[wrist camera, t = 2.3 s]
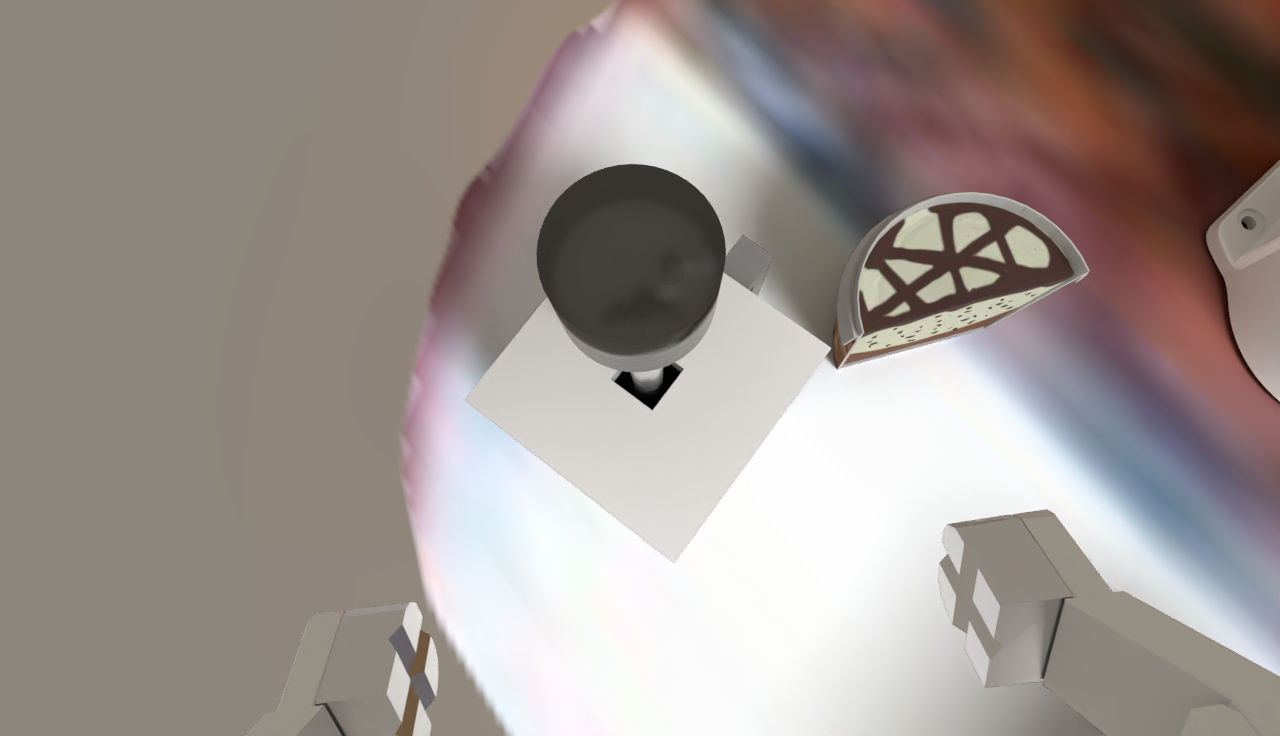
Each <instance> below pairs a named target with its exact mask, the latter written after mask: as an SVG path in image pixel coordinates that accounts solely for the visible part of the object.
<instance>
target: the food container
mask: <svg viewBox="0 0 1280 736" xmlns="http://www.w3.org/2000/svg"><path fill="white" fill-rule="evenodd" d="M1088 272H1089V269H1088V267H1087V265H1086V263H1085V261H1084V259H1083V257H1082V255H1081V254H1080V252H1079V251H1078V250H1077V248H1076V247H1075V245H1074V244H1073V242H1072V241H1071V240H1070V239H1069V238H1068V237H1067V236H1066V235H1065V234H1064V233H1063V232H1062V230H1061V229H1060V228H1059V227H1058V226H1056V225H1055V224H1054V223H1052V222H1051V221H1050V220H1049V219H1047V218H1046V217H1045V216H1044V215H1042V214H1040V213H1039V212H1037V211H1035V210H1033V209H1032V208H1030V207H1028V206H1026V205H1024V204H1021V203H1019V202H1016V201H1014V200H1011V199H1009V198H1005V197H1001V196H997V195H993V194H984V193H975V192H965V193H947V194H942V195H936V196H931V197H928V198H925V199H922V200H920V201H917V202H914V203H912V204H910V205H908V206H906V207H905V208H903V209H901V210H899V211H897V212H895V213H893V214H892V215H890V216H888V217H886V218H885V219H884V220H882V221H881V222H880V223H879V224H877V225H876V226H875V227H873V228H872V229H871V230H870V231H869V232H868V233H867V235H866V236H865V237H864V238H863V239H862V240H861V241H860V242H859V244H858V245H857V247H856V248H855V250H854V251H853V253H852V254H851V256H850V258H849V260H848V262H847V265H846V267H845V269H844V271H843V274H842V278H841V282H840V286H839V290H838V300H837V319H836V323H835V327H834V331H833V353H834V359H835V363H836V367H837V369H840V368H844V367H848V366H851V365H855V364H859V363H862V362H866V361H870V360H873V359H877V358H881V357H884V356H888V355H892V354H895V353H899V352H903V351H906V350H910V349H914V348H917V347H921V346H925V345H928V344H932V343H936V342H939V341H943V340H947V339H950V338H954V337H958V336H961V335H965V334H969V333H972V332H976V331H980V330H983V329H987V328H989V327H990V326H992V325H994V324H996V323H998V322H999V321H1001V320H1003V319H1005V318H1007V317H1009V316H1010V315H1012V314H1014V313H1016V312H1018V311H1019V310H1021V309H1023V308H1025V307H1027V306H1028V305H1030V304H1032V303H1034V302H1036V301H1038V300H1039V299H1041V298H1043V297H1045V296H1047V295H1048V294H1050V293H1052V292H1054V291H1056V290H1058V289H1059V288H1061V287H1063V286H1065V285H1067V284H1068V283H1070V282H1072V281H1075V282H1078V281H1080V280H1081V279H1082V278H1084V277H1085V276H1086V275H1087V274H1088Z"/></svg>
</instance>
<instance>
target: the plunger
mask: <svg viewBox="0 0 1280 736" xmlns="http://www.w3.org/2000/svg"><path fill="white" fill-rule="evenodd" d="M725 256H726V248H725V238H724V234H723V230H722V226H721V224H720V221H719V219H718V216H717V214H716V213H715V211H714V209H713V207H712V206H711V204H710V203H709V202H708V200H707V199H706V198H705V196H704V195H703V194H702V193H701V192H700V191H699V190H698V189H697V188H696V187H694V186H693V185H692V184H691V183H689V182H688V181H687V180H685V179H683V178H682V177H680V176H678V175H676V174H674V173H672V172H669V171H667V170H664V169H661V168H658V167H654V166H648V165H638V164H627V165H617V166H612V167H607V168H604V169H601V170H598V171H595V172H593V173H591V174H589V175H587V176H585V177H583V178H582V179H580V180H578V181H577V182H575V183H574V184H573V185H571V186H570V187H569V188H568V189H567V190H565V191H564V193H563V194H562V195H561V196H560V197H559V198H558V199H557V200H556V202H555V203H554V204H553V206H552V207H551V209H550V210H549V212H548V214H547V216H546V218H545V220H544V222H543V225H542V228H541V230H540V234H539V239H538V245H537V267H538V272H539V277H540V280H541V283H542V286H543V289H544V291H545V293H546V295H547V297H548V299H549V301H550V303H551V305H552V306H553V308H554V310H555V312H556V314H557V316H558V318H559V320H560V322H561V324H562V326H563V327H564V329H565V331H566V333H567V335H568V336H569V338H570V339H571V341H572V342H573V343H574V344H575V345H576V346H577V348H578V349H579V350H580V351H582V352H583V353H584V354H585V355H586V356H587V357H589V358H591V359H592V360H594V361H595V362H597V363H599V364H601V365H603V366H606V367H609V368H612V369H615V370H620V371H625V372H631V376H632V380H633V384H634V388H635V392H636V396H637V399H638V400H639V401H640V402H642V403H643V404H644V405H646V406H647V407H648V408H650V409H651V410H652V411H653V409H654V408H655V407H656V405H657V404H658V403H659V401H660V400H661V399H662V397H663V396H664V387H663V367H666V366H669V365H671V364H673V363H675V362H677V361H678V360H680V359H681V358H683V357H684V356H686V355H687V354H688V353H689V352H691V351H692V350H693V349H694V348H695V347H696V346H697V345H698V343H699V342H700V341H701V340H702V338H703V337H704V335H705V334H706V332H707V331H708V328H709V326H710V324H711V322H712V319H713V316H714V313H715V309H716V304H717V300H718V295H719V290H720V286H721V281H722V277H723V272H724V266H725Z"/></svg>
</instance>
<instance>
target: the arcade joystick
mask: <svg viewBox="0 0 1280 736" xmlns="http://www.w3.org/2000/svg"><path fill="white" fill-rule="evenodd" d="M772 258H773V255H771V254H770V253H768V252H767V251H765V250H764V249H762V248H761V247H759V246H758V245H757V244H755V243H754V242H752V241H751V240H749V239H748V238H746V237H745V236H742V237H741V238H740V239H739V241H738V242H737V243H736V245H734V247H733V248H732V249H731V251H730V252H729V253H728V254H727V256H726V257H725V266H724V272H723V277H722V281H721V286H720V290H719V295H718V300H717V304H716V309H715V313H714V316H713V319H712V322H711V324H710V326H709V328H708V331H707V332H706V334H705V335H704V337H703V338H702V340H701V341H700V342H699V343H698V345H697V346H696V347H695V348H694V349H693V350H692V351H691V352H689V353H688V354H687V355H686V356H684V357H683V358H681V359H680V360H678V361H677V362H675V363H673V364H671V365H669V366H666V367H663V387H664V396H663V397H662V399H661V400H660V401H659V403H658V404H657V405H656V407H655V408H654V409H653V411H652V410H651V409H650V408H648V407H647V406H646V405H644V404H643V403H642V402H640V401H639V400H638V399H637V396H636V392H635V388H634V384H633V380H632V376H631V372H625V371H620V370H615V369H612V368H609V367H606V366H603V365H601V364H599V363H597V362H595V361H594V360H592V359H591V358H589V357H587V356H586V355H585V354H584V353H583V352H582V351H580V350H579V349H578V348H577V346H576V345H575V344H574V343H573V342H572V341H571V339H570V338H569V336H568V335H567V333H566V331H565V329H564V327H563V326H562V324H561V322H560V320H559V318H558V316H557V314H556V312H555V310H554V308H553V306H552V305H551V303H550V301H549V299H548V297H546V298H545V299H544V301H543V302H542V303H541V304H540V306H539V307H538V308H537V309H536V311H535V312H534V313H533V314H532V316H531V317H530V318H529V319H528V321H527V322H526V323H525V324H524V326H523V327H522V328H521V329H520V331H519V332H518V333H517V334H516V336H515V337H514V338H513V339H512V341H511V342H510V343H509V344H508V346H507V347H506V348H505V349H504V351H503V352H502V353H501V354H500V355H499V357H498V358H497V359H496V360H495V362H494V363H493V364H492V365H491V367H490V368H489V369H488V370H487V372H486V373H485V374H484V375H483V377H482V378H481V379H480V380H479V382H478V383H477V384H476V385H475V387H474V388H473V389H472V390H471V392H470V393H469V394H468V395H467V397H466V398H465V399H464V401H466V402H467V403H468V404H469V405H471V406H472V407H473V408H475V409H476V410H477V411H478V412H480V413H481V414H482V415H484V416H485V417H486V418H487V419H489V420H490V421H491V422H493V423H494V424H495V425H496V426H498V427H499V428H500V429H502V430H503V431H504V432H505V433H507V434H508V435H509V436H511V437H512V438H513V439H514V440H516V441H517V442H518V443H520V444H521V445H522V446H523V447H525V448H526V449H527V450H529V451H530V452H531V453H532V454H534V455H535V456H536V457H538V458H539V459H540V460H541V461H543V462H544V463H545V464H547V465H548V466H549V467H550V468H552V469H553V470H554V471H556V472H557V473H558V474H559V475H561V476H562V477H563V478H565V479H566V480H567V481H568V482H570V483H571V484H572V485H574V486H575V487H576V488H577V489H579V490H580V491H581V492H583V493H584V494H585V495H586V496H588V497H589V498H590V499H592V500H593V501H594V502H595V503H597V504H598V505H599V506H601V507H602V508H603V509H604V510H606V511H607V512H608V513H610V514H611V515H612V516H613V517H615V518H616V519H617V520H619V521H620V522H621V523H623V524H624V525H625V526H626V527H628V528H629V529H630V530H632V531H633V532H634V533H635V534H637V535H638V536H639V537H641V538H642V539H643V540H644V541H646V542H647V543H648V544H650V545H651V546H652V547H653V548H655V549H656V550H657V551H659V552H660V553H661V554H662V555H664V556H665V557H666V558H668V559H669V560H670V561H671V562H673V563H675V562H676V560H677V559H678V558H679V556H680V555H681V554H682V552H683V551H684V550H685V548H686V547H687V545H688V544H689V543H690V541H691V540H692V539H693V537H694V536H695V534H696V533H697V532H698V530H699V529H700V528H701V526H702V525H703V523H704V522H705V521H706V519H707V518H708V517H709V515H710V514H711V513H712V511H713V510H714V508H715V507H716V506H717V504H718V503H719V502H720V500H721V499H722V497H723V496H724V495H725V493H726V492H727V491H728V489H729V488H730V487H731V485H732V484H733V482H734V481H735V480H736V478H737V477H738V476H739V474H740V473H741V471H742V470H743V469H744V467H745V466H746V465H747V463H748V462H749V460H750V459H751V458H752V456H753V455H754V454H755V452H756V451H757V450H758V448H759V447H760V445H761V444H762V443H763V441H764V440H765V439H766V437H767V436H768V434H769V433H770V432H771V430H772V429H773V428H774V426H775V425H776V424H777V422H778V421H779V419H780V418H781V417H782V415H783V414H784V413H785V411H786V410H787V408H788V407H789V406H790V404H791V403H792V402H793V400H794V399H795V397H796V396H797V395H798V393H799V392H800V391H801V389H802V388H803V387H804V385H805V384H806V382H807V381H808V380H809V378H810V377H811V376H812V374H813V373H814V371H815V370H816V369H817V367H818V366H819V365H820V363H821V362H822V361H823V359H824V358H825V356H826V355H827V354H828V352H829V351H830V350H831V347H829V346H828V345H826V344H825V343H824V342H822V341H821V340H819V339H818V338H816V337H815V336H814V335H812V334H811V333H809V332H808V331H807V330H805V329H804V328H802V327H801V326H799V325H798V324H797V323H795V322H794V321H792V320H791V319H789V318H788V317H787V316H785V315H784V314H782V313H781V312H779V311H778V310H777V309H775V308H774V307H772V306H771V305H769V304H768V303H767V302H765V301H764V300H762V299H761V298H759V297H758V294H759V291H760V289H761V286H762V283H763V281H764V278H765V276H766V273H767V271H768V268H769V265H770V263H771V260H772Z"/></svg>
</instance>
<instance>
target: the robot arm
mask: <svg viewBox="0 0 1280 736" xmlns="http://www.w3.org/2000/svg"><path fill="white" fill-rule="evenodd" d="M1241 221H1242V222H1244V223H1245V224H1246V225H1247V228H1248V229H1245V228H1244V227H1243V226H1242V223H1241ZM1206 241H1207V245H1208V248H1209V251H1210V253H1211V255H1212V257H1213V259H1214V261H1215V263H1216V265H1217V267H1218V268H1219V270H1220V272H1221V274H1222V275H1223V277H1224V280H1225V283H1226V288H1227V295H1228V306H1229V315H1230V321H1231V325H1232V330H1233V333H1234V336H1235V339H1236V342H1237V344H1238V347H1239V349H1240V351H1241V353H1242V355H1243V357H1244V359H1245V361H1246V362H1247V364H1248V366H1249V367H1250V369H1251V370H1252V372H1253V373H1254V375H1255V376H1256V377H1257V378H1258V380H1259V381H1260V382H1261V383H1262V385H1263V386H1264V387H1265V388H1266V389H1267V390H1268V391H1269V392H1270V393H1271V394H1272V395H1273V396H1274V397H1275V398H1276V399H1277V400H1279V401H1280V160H1279V161H1278V162H1277V163H1276V164H1275V165H1274V166H1273V167H1272V168H1270V169H1269V170H1268V171H1267V172H1266V173H1265V174H1264V175H1263V176H1262V177H1261V178H1260V179H1259V180H1258V181H1257V182H1256V183H1255V184H1254V185H1253V186H1252V187H1251V188H1249V189H1248V190H1247V191H1246V192H1245V193H1244V194H1243V195H1242V196H1241V197H1240V198H1239V199H1238V200H1237V201H1236V202H1235V203H1234V204H1233V205H1232V206H1231V207H1230V208H1229V209H1227V210H1226V211H1225V212H1224V213H1223V214H1222V215H1221V216H1220V217H1219V218H1218V219H1217V220H1216V221H1215V222H1214V223H1213V224H1212V225H1211V226H1210V227H1209V229H1208V231H1207V234H1206ZM942 543H943V545H944V547H945V549H946V551H947V553H948V554H947V555H946V556H945V557H944V559H943V560H942V561H941V562H940V563H939V574H938V581H939V587H940V593H941V598H942V601H943V604H944V607H945V609H946V612H947V614H948V616H949V618H950V620H951V622H952V624H953V625H955V626H956V627H958V628H959V629H961V630H962V631H964V632H965V633H967V638H966V645H965V651H966V653H967V654H968V656H969V658H970V660H971V662H972V664H973V666H974V668H975V670H976V672H977V674H978V676H979V678H980V680H981V682H982V684H983V686H984V688H989V687H997V686H1006V685H1015V684H1024V683H1033V682H1041V681H1043V685H1044V686H1045V687H1046V688H1048V689H1049V690H1050V691H1051V692H1053V693H1054V694H1055V695H1056V696H1058V697H1059V698H1060V699H1061V700H1063V701H1064V702H1065V703H1066V704H1068V705H1069V706H1070V707H1071V708H1073V709H1074V710H1075V711H1076V712H1078V713H1079V714H1080V715H1081V716H1083V717H1084V718H1085V719H1086V720H1088V721H1089V722H1090V723H1091V724H1092V725H1094V726H1095V727H1096V728H1097V729H1099V730H1100V731H1101V732H1102V733H1104V734H1105V735H1106V736H1280V677H1279V676H1278V675H1276V674H1274V673H1272V672H1270V671H1268V670H1267V669H1265V668H1263V667H1261V666H1259V665H1257V664H1256V663H1254V662H1252V661H1250V660H1248V659H1246V658H1245V657H1243V656H1241V655H1239V654H1237V653H1236V652H1234V651H1232V650H1230V649H1228V648H1226V647H1225V646H1223V645H1221V644H1219V643H1217V642H1215V641H1214V640H1212V639H1210V638H1208V637H1206V636H1204V635H1203V634H1201V633H1199V632H1197V631H1195V630H1193V629H1192V628H1190V627H1188V626H1186V625H1184V624H1182V623H1181V622H1179V621H1177V620H1175V619H1173V618H1171V617H1170V616H1168V615H1166V614H1164V613H1162V612H1160V611H1159V610H1157V609H1155V608H1153V607H1151V606H1149V605H1148V604H1146V603H1144V602H1142V601H1140V600H1139V599H1137V598H1135V597H1133V596H1131V595H1129V594H1128V593H1126V592H1124V591H1119V592H1112V590H1111V589H1110V588H1109V586H1108V585H1107V584H1106V582H1105V581H1104V580H1103V578H1102V577H1101V576H1100V574H1099V573H1098V572H1097V570H1096V569H1095V568H1094V566H1093V565H1092V564H1091V562H1090V561H1089V560H1088V558H1087V557H1086V556H1085V554H1084V553H1083V552H1082V550H1081V549H1080V548H1079V546H1078V545H1077V544H1076V542H1075V541H1074V540H1073V538H1072V537H1071V535H1070V534H1069V533H1068V531H1067V530H1066V529H1065V527H1064V526H1063V525H1062V523H1061V522H1060V521H1059V519H1058V518H1057V517H1056V515H1055V514H1054V513H1052V512H1051V511H1049V510H1047V509H1046V510H1040V511H1033V512H1026V513H1019V514H1014V515H1004V516H997V517H991V518H984V519H978V520H972V521H965V522H959V523H952V524H947V526H946V527H945V529H944V531H943V538H942ZM421 623H422V614H421V613H420V610H419V608H418V606H417V604H416V603H412V602H408V603H400V604H391V605H383V606H374V607H366V608H358V609H349V610H343V611H335V612H328V613H320V614H315V615H314V616H313V617H312V619H311V620H310V621H309V622H308V624H307V626H306V629H305V632H304V635H303V637H302V640H301V643H300V646H299V649H298V652H297V655H296V658H295V660H294V663H293V666H292V669H291V672H290V675H289V677H288V680H287V684H286V686H285V689H284V692H283V695H282V697H281V701H280V703H279V706H278V709H277V711H275V712H269V713H266V714H265V715H264V717H262V718H261V719H260V720H259V721H258V722H257V723H256V724H255V725H254V727H253V728H251V730H250V731H249V732H248V733H247V734H246V735H245V736H430V730H431V723H430V721H429V719H428V716H427V714H426V712H425V710H426V709H427V707H428V706H429V705H430V704H431V703H432V701H433V700H434V699H435V698H436V693H437V686H438V658H437V653H436V648H435V645H434V642H433V640H432V637H431V635H429V634H427V633H425V632H424V631H422V630H420V628H421Z"/></svg>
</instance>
